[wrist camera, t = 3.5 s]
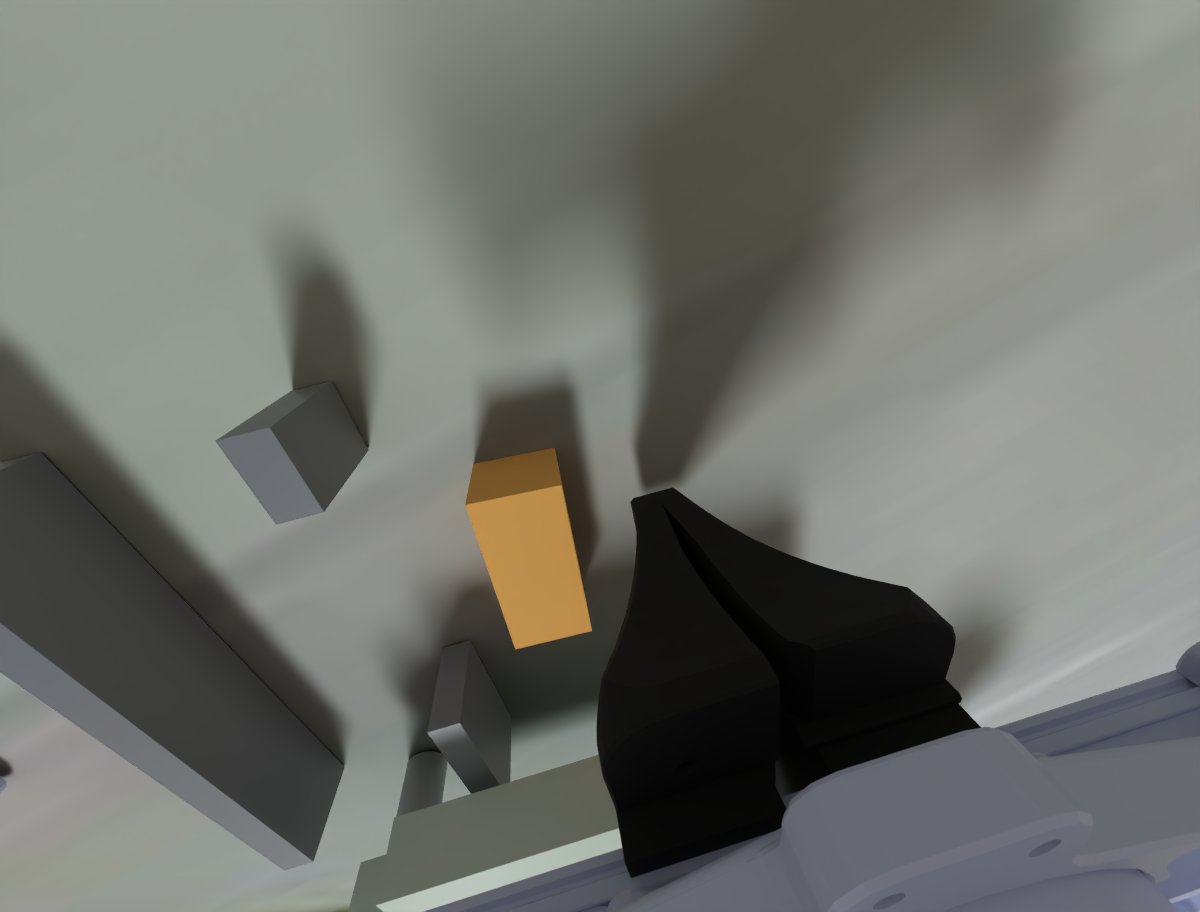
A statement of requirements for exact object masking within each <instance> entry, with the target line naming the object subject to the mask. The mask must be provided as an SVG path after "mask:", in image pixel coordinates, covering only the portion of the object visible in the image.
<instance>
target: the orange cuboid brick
mask: <svg viewBox="0 0 1200 912" xmlns="http://www.w3.org/2000/svg"><path fill="white" fill-rule="evenodd" d="M465 506H466V509H467V512H468V515H469V517H470V520H471V523H472V526H473V529H474V532H475V535H476V538H477V540H478V543H479V546H480V549H481V552H482V555H483V558H484V561H485V563H486V566H487V569H488V572H489V575H490V578H491V581H492V584H493V586H494V589H495V592H496V595H497V598H498V601H499V604H500V607H501V609H502V612H503V615H504V618H505V621H506V624H507V627H508V630H509V633H510V635H511V638H512V641H513V644H514V647H515V649H519V648H524V647H528V646H532V645H536V644H540V643H544V642H548V641H553V640H557V639H561V638H565V637H569V636H573V635H578V634H582V633H586V632H590V631H592V628H591V622H590V617H589V612H588V607H587V601H586V596H585V591H584V586H583V581H582V576H581V571H580V566H579V561H578V557H577V552H576V547H575V542H574V537H573V533H572V528H571V523H570V518H569V514H568V509H567V504H566V499H565V494H564V490H563V485H562V480H561V475H560V470H559V466H558V461H557V456H556V451H555V448H550V449H545V450H540V451H535V452H530V453H525V454H520V455H515V456H510V457H505V458H500V459H495V460H490V461H485V462H480V463H475V464H473V469H472V474H471V479H470V484H469V489H468V494H467V499H466V504H465Z"/></svg>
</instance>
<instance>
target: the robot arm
mask: <svg viewBox="0 0 1200 912" xmlns="http://www.w3.org/2000/svg"><path fill="white" fill-rule="evenodd" d="M631 507H632V511H633V516H634V521H635V526H636V531H637V548H636V562H635V571H634V578H633V584H632V589H631V594H630V598H629V603H628V607H627V611H626V615H625V618H624V621H623V624H622V627H621V630H620V633H619V636H618V639H617V643H616V645H615V648H614V650H613V653H612V655H611V657H610V660H609V662H608V664H607V667H606V669H605V671H604V674H603V676H602V681H601V688H600V695H599V704H598V713H597V747H598V753H599V759H600V764H601V770H602V776H603V779H604V781H605V784H606V786H607V789H608V791H609V794H610V796H611V799H612V801H613V804H614V806H615V809H616V814H617V820H618V826H619V832H620V838H621V843H622V848H620V849H617V850H614V851H611V852H607V853H604V854H601V855H598V856H595V857H592V858H589V859H586V860H583V861H579V862H576V863H573V864H570V865H567V866H564V867H561V868H558V869H555V870H551V871H548V872H545V873H542V874H539V875H536V876H533V877H530V878H527V879H523V880H520V881H517V882H514V883H511V884H508V885H505V886H502V887H499V888H495V889H492V890H489V891H486V892H483V893H480V894H477V895H474V896H471V897H467V898H464V899H461V900H458V901H455V902H452V903H449V904H446V905H443V906H439V907H436V908H433V909H430V910H427V911H424V912H1200V642H1198V643H1196V644H1195V645H1193V646H1192V647H1190V648H1189V649H1188V650H1187V651H1186V652H1185V653H1184V654H1183V655H1182V657H1181V658H1180V659H1179V661H1178V663H1177V665H1176V670H1174V671H1171V672H1168V673H1165V674H1161V675H1158V676H1155V677H1152V678H1149V679H1146V680H1143V681H1140V682H1137V683H1133V684H1130V685H1127V686H1124V687H1121V688H1118V689H1115V690H1112V691H1109V692H1105V693H1102V694H1099V695H1096V696H1093V697H1090V698H1087V699H1084V700H1081V701H1077V702H1074V703H1071V704H1068V705H1065V706H1062V707H1059V708H1056V709H1053V710H1049V711H1046V712H1043V713H1040V714H1037V715H1034V716H1031V717H1028V718H1025V719H1021V720H1018V721H1015V722H1012V723H1009V724H1006V725H1003V726H1000V727H997V728H990V727H983V728H981V727H980V726H979V725H978V724H977V723H976V722H975V721H974V720H973V719H972V718H971V717H970V715H969V714H968V713H967V712H966V711H965V710H964V709H963V708H962V707H961V706H960V705H959V704H958V703H960V702H961V700H962V698H961V696H960V693H959V692H958V691H957V690H956V689H955V688H954V687H953V686H952V685H951V684H950V683H949V682H948V681H947V680H946V679H945V678H946V675H947V671H948V668H949V665H950V662H951V659H952V656H953V653H954V647H955V633H954V630H953V627H952V626H951V625H950V624H949V623H948V622H947V621H946V620H945V619H943V618H942V617H941V616H940V615H939V614H938V613H937V612H936V611H935V610H934V609H933V608H932V607H931V606H929V605H928V604H927V603H926V602H925V601H924V600H923V599H921V598H920V597H919V596H918V595H916V594H915V593H914V592H912V591H911V590H910V589H909V588H907V587H903V586H899V585H894V584H889V583H885V582H880V581H875V580H871V579H866V578H862V577H858V576H854V575H850V574H847V573H843V572H839V571H836V570H832V569H829V568H826V567H823V566H819V565H816V564H813V563H810V562H808V561H805V560H802V559H799V558H797V557H794V556H791V555H788V554H786V553H783V552H781V551H779V550H776V549H774V548H772V547H770V546H767V545H765V544H763V543H761V542H759V541H756V540H754V539H752V538H750V537H748V536H746V535H745V534H743V533H741V532H739V531H737V530H736V529H734V528H732V527H730V526H729V525H727V524H725V523H724V522H722V521H721V520H719V519H717V518H716V517H714V516H713V515H711V514H710V513H708V512H707V511H705V510H704V509H702V508H701V507H699V506H698V505H696V504H695V503H694V502H692V501H691V500H689V499H688V498H687V497H685V496H684V495H683V494H681V493H680V492H679V491H677V490H676V489H674V488H669V489H665V490H662V491H658V492H654V493H651V494H647V495H643V496H640V497H636V498H633V500H632V501H631ZM6 786H7V785H6V781H5V780H4V779H2V778H1V777H0V793H1V792H2V791H3V790H4V789H5V788H6Z"/></svg>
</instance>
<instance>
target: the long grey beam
mask: <svg viewBox="0 0 1200 912" xmlns="http://www.w3.org/2000/svg"><path fill="white" fill-rule="evenodd" d="M216 442H217V444H218V445H219V447H220V448H221V449H222V451H223V452H224V453H225V455H226V456H227V458H228V459H229V460H230V462H231V463H232V465H233V466H234V467H235V469H236V470H237V471H238V473H239V474H240V476H241V477H242V478H243V480H244V481H245V482H246V484H247V485H248V487H249V488H250V489H251V491H252V492H253V493H254V495H255V496H256V498H257V499H258V500H259V502H260V503H261V504H262V506H263V507H264V509H265V510H266V511H267V513H268V514H269V516H270V517H271V518H272V520H273V521H274V522H275V524H280V523H284V522H288V521H291V520H295V519H299V518H303V517H307V516H310V515H314V514H318V513H322V512H324V511H325V510H326V508H327V507H328V506H329V504H330V503H331V501H332V500H333V499H334V497H335V496H336V495H337V493H338V492H339V490H340V489H341V488H342V486H343V485H344V483H345V482H346V481H347V479H348V478H349V476H350V475H351V474H352V472H353V471H354V470H355V468H356V467H357V465H358V464H359V463H360V461H361V460H362V458H363V457H364V456H365V454H366V453H367V451H368V448H367V446H366V444H365V442H364V440H363V438H362V437H361V435H360V433H359V431H358V429H357V427H356V425H355V423H354V422H353V420H352V418H351V416H350V414H349V412H348V410H347V408H346V407H345V405H344V403H343V401H342V399H341V397H340V395H339V393H338V392H337V390H336V388H335V386H334V384H333V382H332V381H329V382H325V383H321V384H317V385H313V386H309V387H305V388H301V389H297V390H293V391H290V392H289V393H287V394H286V395H284V396H283V397H281V398H280V399H278V400H277V401H275V402H274V403H272V404H271V405H269V406H268V407H266V408H265V409H263V410H262V411H260V412H259V413H257V414H256V415H254V416H252V417H251V418H249V419H248V420H246V421H245V422H243V423H242V424H240V425H239V426H237V427H236V428H234V429H233V430H231V431H230V432H228V433H227V434H225V435H224V436H222V437H221V438H219V439H218V440H216ZM0 672H1V673H2V674H4V675H5V676H7V677H8V678H10V679H11V680H12V681H14V682H15V683H17V684H18V685H20V686H21V687H22V688H24V689H25V690H27V691H28V692H30V693H31V694H32V695H34V696H35V697H37V698H38V699H40V700H41V701H42V702H44V703H45V704H47V705H48V706H50V707H51V708H52V709H54V710H55V711H57V712H58V713H60V714H61V715H63V716H64V717H65V718H67V719H68V720H70V721H71V722H73V723H74V724H75V725H77V726H78V727H80V728H81V729H83V730H84V731H85V732H87V733H88V734H90V735H91V736H93V737H94V738H95V739H97V740H98V741H100V742H101V743H103V744H104V745H105V746H107V747H108V748H110V749H111V750H113V751H114V752H115V753H117V754H118V755H120V756H121V757H123V758H124V759H125V760H127V761H128V762H130V763H131V764H133V765H134V766H136V767H137V768H138V769H140V770H141V771H143V772H144V773H146V774H147V775H148V776H150V777H151V778H153V779H154V780H156V781H157V782H158V783H160V784H161V785H163V786H164V787H166V788H167V789H168V790H170V791H171V792H173V793H174V794H176V795H177V796H178V797H180V798H181V799H183V800H184V801H186V802H187V803H188V804H190V805H191V806H193V807H194V808H196V809H197V810H199V811H200V812H201V813H203V814H204V815H206V816H207V817H209V818H210V819H211V820H213V821H214V822H216V823H217V824H219V825H220V826H221V827H223V828H224V829H226V830H227V831H229V832H230V833H231V834H233V835H234V836H236V837H237V838H239V839H240V840H241V841H243V842H244V843H246V844H247V845H249V846H250V847H251V848H253V849H254V850H256V851H257V852H259V853H260V854H262V855H263V856H264V857H266V858H267V859H269V860H270V861H272V862H273V863H274V864H276V865H277V866H279V867H280V868H282V869H283V870H287V869H290V868H294V867H297V866H300V865H303V864H307V863H310V862H313V861H314V858H315V855H316V852H317V849H318V846H319V843H320V840H321V837H322V834H323V831H324V827H325V824H326V821H327V818H328V815H329V812H330V809H331V806H332V803H333V800H334V797H335V794H336V791H337V788H338V785H339V782H340V779H341V776H342V773H343V770H344V766H343V765H342V764H341V763H340V762H339V761H338V760H337V759H336V758H335V756H334V755H333V754H332V753H331V752H330V751H329V750H328V749H327V748H326V747H325V746H324V745H323V744H322V743H321V742H320V741H319V740H318V739H317V738H316V737H315V736H314V735H313V734H312V733H311V732H310V731H309V730H308V729H307V727H306V726H305V725H304V724H303V723H302V722H301V721H300V720H299V719H298V718H297V717H296V716H295V715H294V714H293V713H292V712H291V711H290V710H289V709H288V708H287V707H286V706H285V705H284V704H283V703H282V702H281V701H280V699H279V698H278V697H277V696H276V695H275V694H274V693H273V692H272V691H271V690H270V689H269V688H268V687H267V686H266V685H265V684H264V683H263V682H262V681H261V680H260V679H259V678H258V677H257V676H256V675H255V674H254V673H253V672H252V670H251V669H250V668H249V667H248V666H247V665H246V664H245V663H244V662H243V661H242V660H241V659H240V658H239V657H238V656H237V655H236V654H235V653H234V652H233V651H232V650H231V649H230V648H229V647H228V646H227V645H226V644H225V643H224V641H223V640H222V639H221V638H220V637H219V636H218V635H217V634H216V633H215V632H214V631H213V630H212V629H211V628H210V627H209V626H208V625H207V624H206V623H205V622H204V621H203V620H202V619H201V618H200V617H199V616H198V615H197V614H196V612H195V611H194V610H193V609H192V608H191V607H190V606H189V605H188V604H187V603H186V602H185V601H184V600H183V599H182V598H181V597H180V596H179V595H178V594H177V593H176V592H175V591H174V590H173V589H172V588H171V587H170V586H169V584H168V583H167V582H166V581H165V580H164V579H163V578H162V577H161V576H160V575H159V574H158V573H157V572H156V571H155V570H154V569H153V568H152V567H151V566H150V565H149V564H148V563H147V562H146V561H145V560H144V559H143V558H142V557H141V555H140V554H139V553H138V552H137V551H136V550H135V549H134V548H133V547H132V546H131V545H130V544H129V543H128V542H127V541H126V540H125V539H124V538H123V537H122V536H121V535H120V534H119V533H118V532H117V531H116V530H115V529H114V528H113V526H112V525H111V524H110V523H109V522H108V521H107V520H106V519H105V518H104V517H103V516H102V515H101V514H100V513H99V512H98V511H97V510H96V509H95V508H94V507H93V506H92V505H91V504H90V503H89V502H88V501H87V500H86V499H85V497H84V496H83V495H82V494H81V493H80V492H79V491H78V490H77V489H76V488H75V487H74V486H73V485H72V484H71V483H70V482H69V481H68V480H67V479H66V478H65V477H64V476H63V475H62V474H61V473H60V472H59V471H58V469H57V468H56V467H55V466H54V465H53V464H52V463H51V462H50V461H49V460H48V459H47V458H46V457H45V456H44V455H43V454H42V453H41V452H40V453H36V454H32V455H28V456H23V457H19V458H15V459H11V460H7V461H3V462H0ZM427 733H428V735H429V736H430V738H431V739H432V740H433V742H434V743H435V744H436V746H437V747H438V749H439V750H440V751H441V753H442V754H443V755H444V757H445V758H446V760H447V761H448V762H449V764H450V765H451V766H452V768H453V769H454V771H455V772H456V773H457V775H458V776H459V777H460V779H461V780H462V782H463V783H464V784H465V786H466V787H467V789H468V790H469V791H470V793H471V794H473V793H476V792H479V791H483V790H486V789H489V788H492V787H496V786H499V785H502V784H505V783H509V782H510V761H511V716H510V714H509V712H508V710H507V709H506V707H505V705H504V703H503V701H502V699H501V697H500V695H499V694H498V692H497V690H496V688H495V686H494V684H493V682H492V680H491V679H490V677H489V675H488V673H487V671H486V669H485V667H484V665H483V664H482V662H481V660H480V658H479V656H478V654H477V652H476V650H475V649H474V647H473V645H472V643H471V641H470V640H468V641H465V642H461V643H458V644H454V645H451V646H447V647H444V648H443V650H442V655H441V660H440V666H439V671H438V676H437V682H436V687H435V693H434V698H433V703H432V709H431V714H430V719H429V725H428V730H427Z"/></svg>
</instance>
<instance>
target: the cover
mask: <svg viewBox="0 0 1200 912" xmlns="http://www.w3.org/2000/svg"><path fill="white" fill-rule="evenodd" d="M447 762H448V761H447V760H446V758H445V757H444V755H443V754H441V753H439V752H432V751H430V752H422V753H419V754H416V755H414V756H413V757H411V758H410V759H409V761H408V764H407V769H406V774H405V778H404V783H403V788H402V792H401V797H400V802H399V807H398V811H397V816H396V817H395V818H394V822H393V827H392V831H391V836H390V840H389V845H388V850H387V854H386V855H383V856H380V857H377V858H374V859H371V860H367V861H364V862H361V864H360V868H359V872H358V876H357V880H356V884H355V888H354V892H353V896H352V900H351V903H350V907H349V911H348V912H424V911H427V910H430V909H433V908H436V907H439V906H443V905H446V904H449V903H452V902H455V901H458V900H461V899H464V898H467V897H471V896H474V895H477V894H480V893H483V892H486V891H489V890H492V889H495V888H499V887H502V886H505V885H508V884H511V883H514V882H517V881H520V880H523V879H527V878H530V877H533V876H536V875H539V874H542V873H545V872H548V871H551V870H555V869H558V868H561V867H564V866H567V865H570V864H573V863H576V862H579V861H583V860H586V859H589V858H592V857H595V856H598V855H601V854H604V853H607V852H611V851H614V850H617V849H620V848H622V843H621V838H620V832H619V826H618V820H617V814H616V809H615V806H614V804H613V801H612V799H611V796H610V794H609V791H608V789H607V786H606V784H605V781H604V779H603V776H602V770H601V764H600V759H599V755H597V756H593V757H590V758H587V759H584V760H580V761H577V762H574V763H571V764H567V765H564V766H561V767H558V768H554V769H551V770H548V771H545V772H541V773H538V774H535V775H532V776H528V777H525V778H522V779H518V780H515V781H512V782H509V783H505V784H502V785H499V786H496V787H492V788H489V789H486V790H483V791H479V792H476V793H473V794H470V795H466V796H463V797H460V798H457V799H453V800H450V801H447V802H444V803H442V799H443V791H444V784H445V777H446V769H447Z"/></svg>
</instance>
